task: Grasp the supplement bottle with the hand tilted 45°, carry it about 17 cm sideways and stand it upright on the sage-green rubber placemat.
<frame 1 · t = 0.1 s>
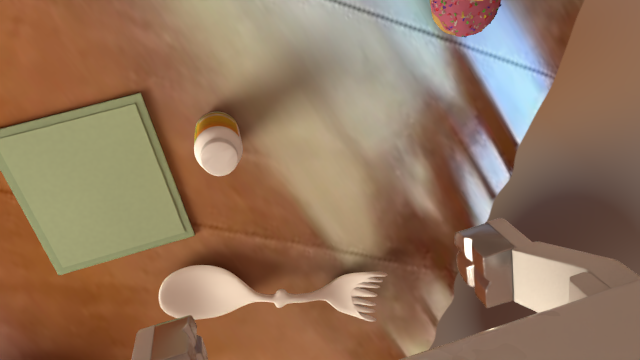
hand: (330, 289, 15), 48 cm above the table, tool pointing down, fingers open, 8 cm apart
placemat: (97, 188, 60), on the table
white spork utensil: (273, 285, 72), on the table
supplement bottle: (217, 131, 61), on the table
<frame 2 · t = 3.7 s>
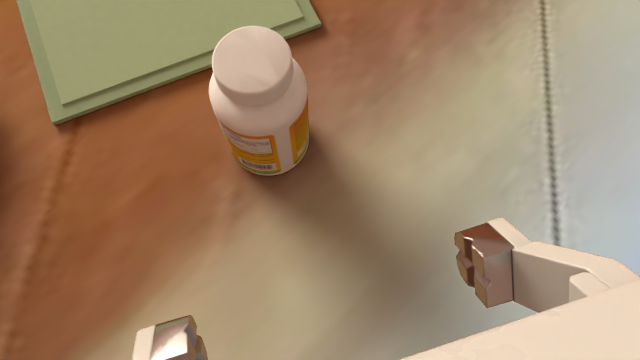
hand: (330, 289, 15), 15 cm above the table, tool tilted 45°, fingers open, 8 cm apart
supplement bottle: (269, 141, 33), on the table
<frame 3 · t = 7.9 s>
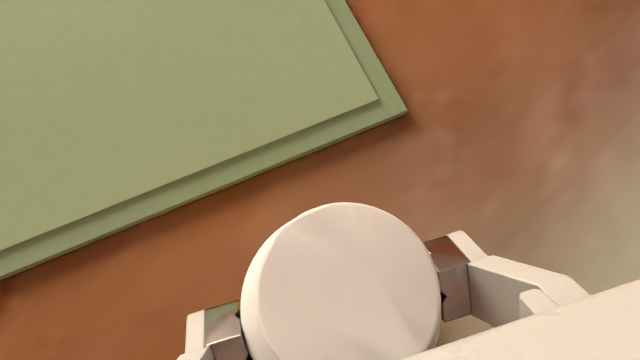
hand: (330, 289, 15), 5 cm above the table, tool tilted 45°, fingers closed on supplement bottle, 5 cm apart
placemat: (140, 38, 24), on the table
supplement bottle: (332, 322, 20), on the table, touching gripper
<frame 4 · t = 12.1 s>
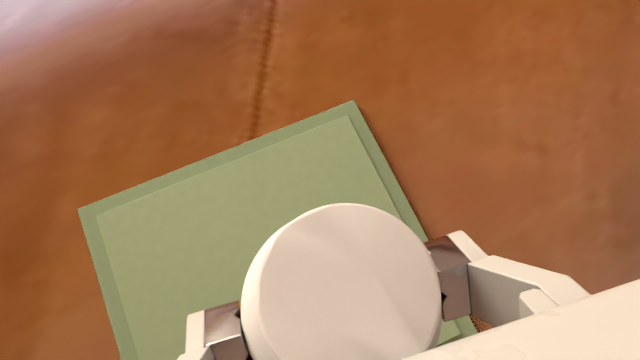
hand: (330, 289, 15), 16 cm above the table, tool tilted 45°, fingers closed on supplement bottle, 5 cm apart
placemat: (272, 274, 31), on the table
supplement bottle: (332, 323, 20), point 11 cm above the table, touching gripper
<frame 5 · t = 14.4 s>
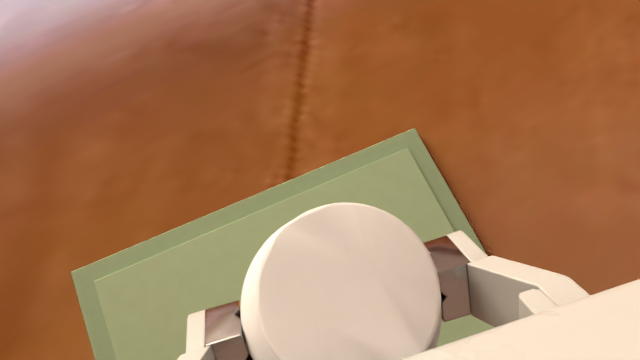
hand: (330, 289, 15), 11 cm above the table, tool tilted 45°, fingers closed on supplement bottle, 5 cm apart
placemat: (320, 356, 24), on the table
supplement bottle: (332, 322, 20), point 5 cm above the table, touching gripper
when the fingers open (6 cm above the table, at t = 16.3 s): supplement bottle stays where it is, resting on placemat.
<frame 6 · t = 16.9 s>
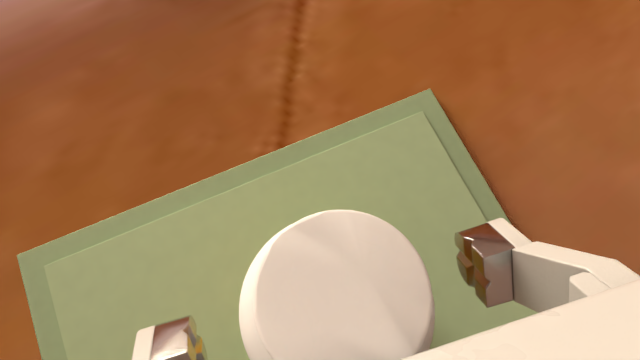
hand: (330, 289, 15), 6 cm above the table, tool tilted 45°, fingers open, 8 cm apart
placemat: (317, 358, 20), on the table
supplement bottle: (330, 324, 20), resting on placemat
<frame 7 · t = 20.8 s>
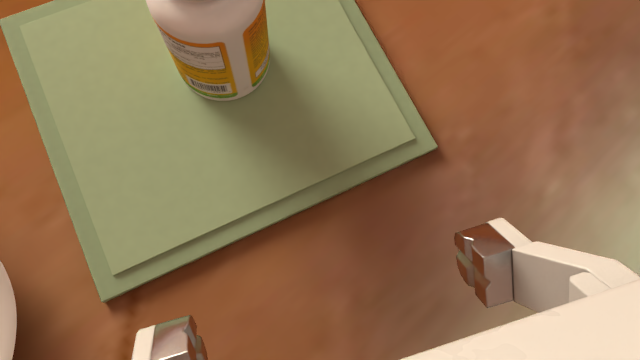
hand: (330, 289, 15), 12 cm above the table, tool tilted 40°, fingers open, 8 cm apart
placemat: (216, 85, 29), on the table
supplement bottle: (225, 63, 29), resting on placemat
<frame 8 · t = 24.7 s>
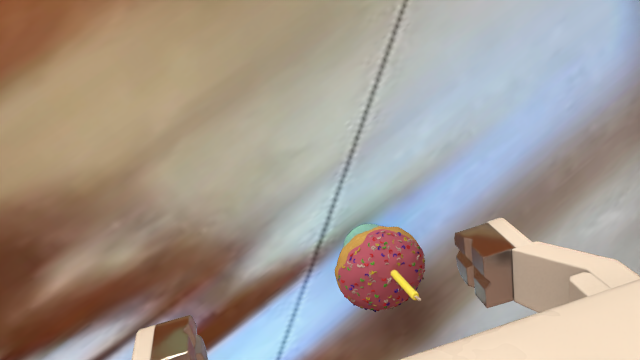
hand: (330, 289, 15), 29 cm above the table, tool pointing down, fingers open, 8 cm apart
cupcake: (366, 243, 50), on the table
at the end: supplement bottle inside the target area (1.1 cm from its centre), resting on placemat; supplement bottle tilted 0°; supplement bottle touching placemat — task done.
